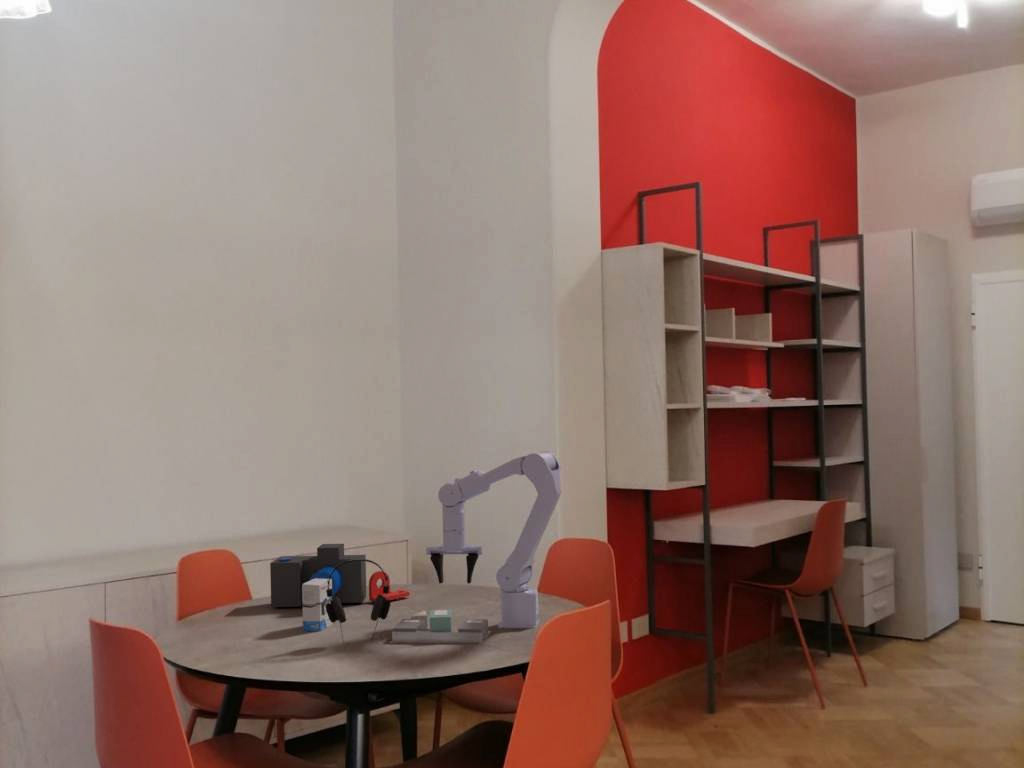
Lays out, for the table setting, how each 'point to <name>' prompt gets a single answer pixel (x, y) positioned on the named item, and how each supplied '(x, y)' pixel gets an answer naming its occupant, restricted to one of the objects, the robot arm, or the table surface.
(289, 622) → the table surface
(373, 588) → the bracket
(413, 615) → the block
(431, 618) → the teal module
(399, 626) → the mounted modules
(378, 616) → the headphones
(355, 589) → the camera
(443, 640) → the rail
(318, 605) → the ink box
